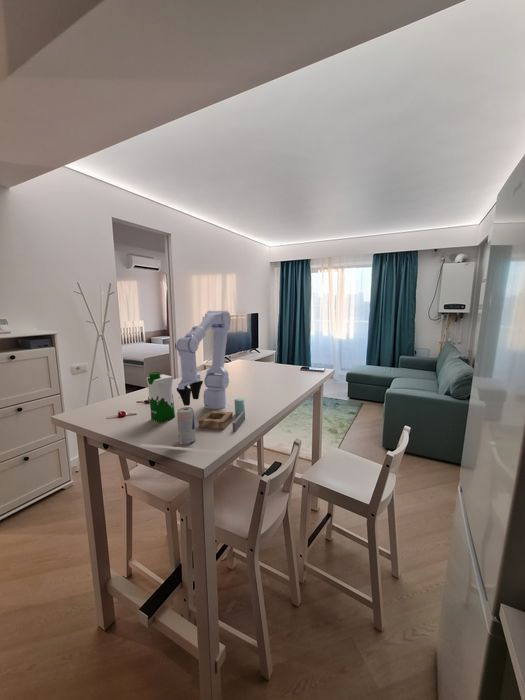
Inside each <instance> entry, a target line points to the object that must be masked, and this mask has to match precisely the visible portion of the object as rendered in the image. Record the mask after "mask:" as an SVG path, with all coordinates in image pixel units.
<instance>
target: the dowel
mask: <svg viewBox="0 0 525 700" xmlns="http://www.w3.org/2000/svg"><path fill="white" fill-rule="evenodd" d="M245 409H246V408H245V399H244V398H238V397H237V398H235V399H234V414H235V416H237V417H238V416H239V415H240V414H241V412H242V411H245ZM245 412H246V411H245Z"/></svg>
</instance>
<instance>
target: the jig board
mask: <svg viewBox="0 0 525 700" xmlns="http://www.w3.org/2000/svg"><path fill="white" fill-rule="evenodd" d="M245 420H246V411H242V412H241V414H240V415H239V416H237V417H236V418H235V419H234V420H233V422H232V432H234V433H236V431H237V430H238V429H239V428H240V426H241V425H242V424H243V423H244V421H245Z"/></svg>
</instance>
